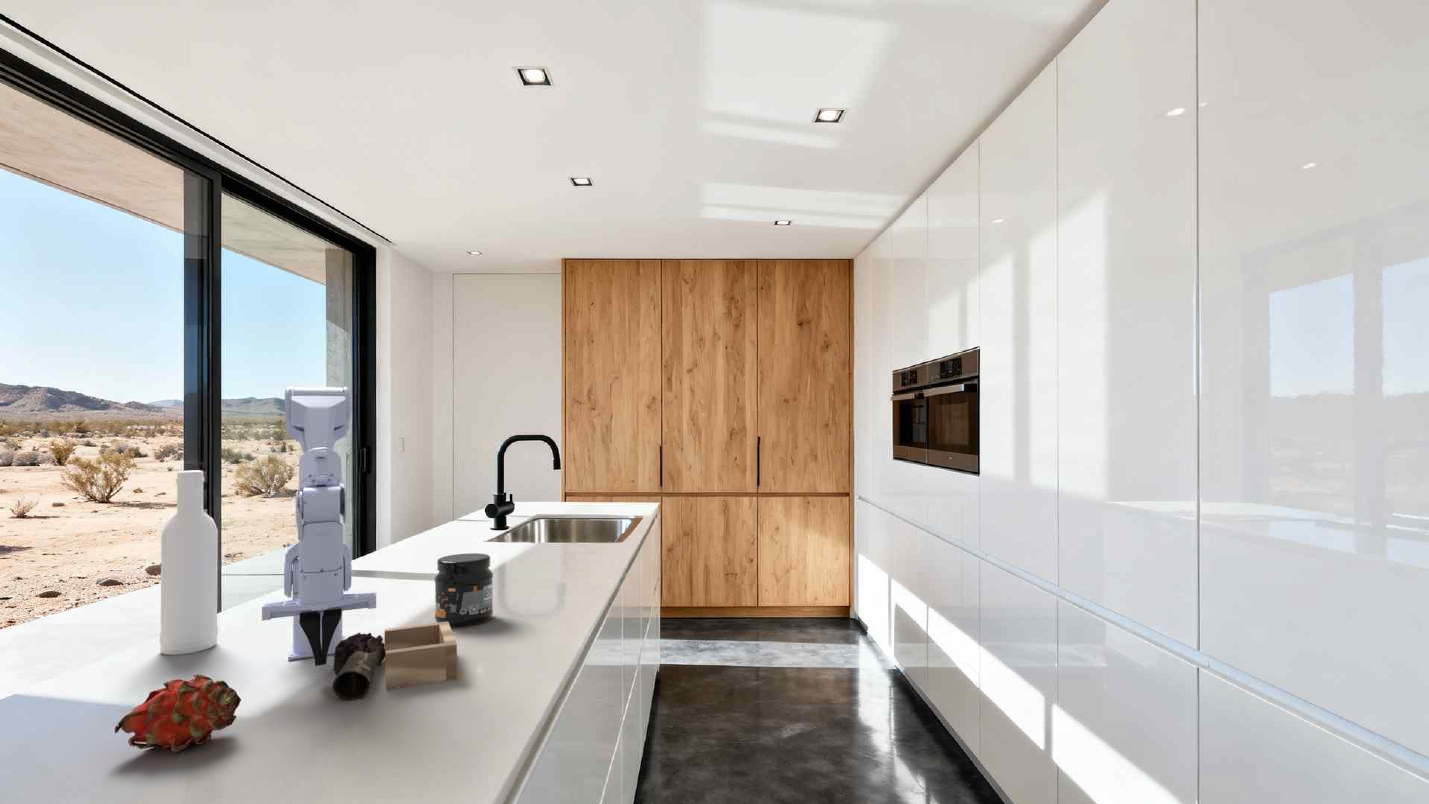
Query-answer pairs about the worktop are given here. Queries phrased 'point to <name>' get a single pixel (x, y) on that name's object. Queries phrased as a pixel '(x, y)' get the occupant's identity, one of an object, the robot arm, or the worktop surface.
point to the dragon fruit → (181, 714)
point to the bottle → (189, 572)
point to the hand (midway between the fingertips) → (321, 663)
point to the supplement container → (463, 589)
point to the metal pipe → (356, 665)
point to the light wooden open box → (420, 654)
